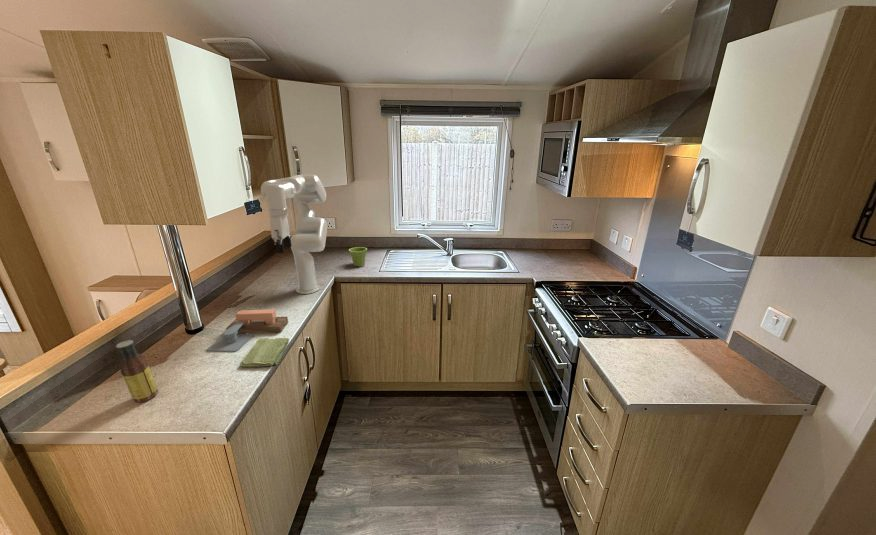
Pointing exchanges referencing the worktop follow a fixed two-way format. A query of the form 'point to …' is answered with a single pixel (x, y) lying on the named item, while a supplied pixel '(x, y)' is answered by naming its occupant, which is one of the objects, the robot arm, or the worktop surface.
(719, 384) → the worktop surface
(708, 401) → the worktop surface
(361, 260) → the plant pot
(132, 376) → the sauce bottle
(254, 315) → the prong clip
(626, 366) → the worktop surface
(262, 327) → the slotted rail
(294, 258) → the robot arm
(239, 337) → the shower valve
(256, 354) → the washcloth
